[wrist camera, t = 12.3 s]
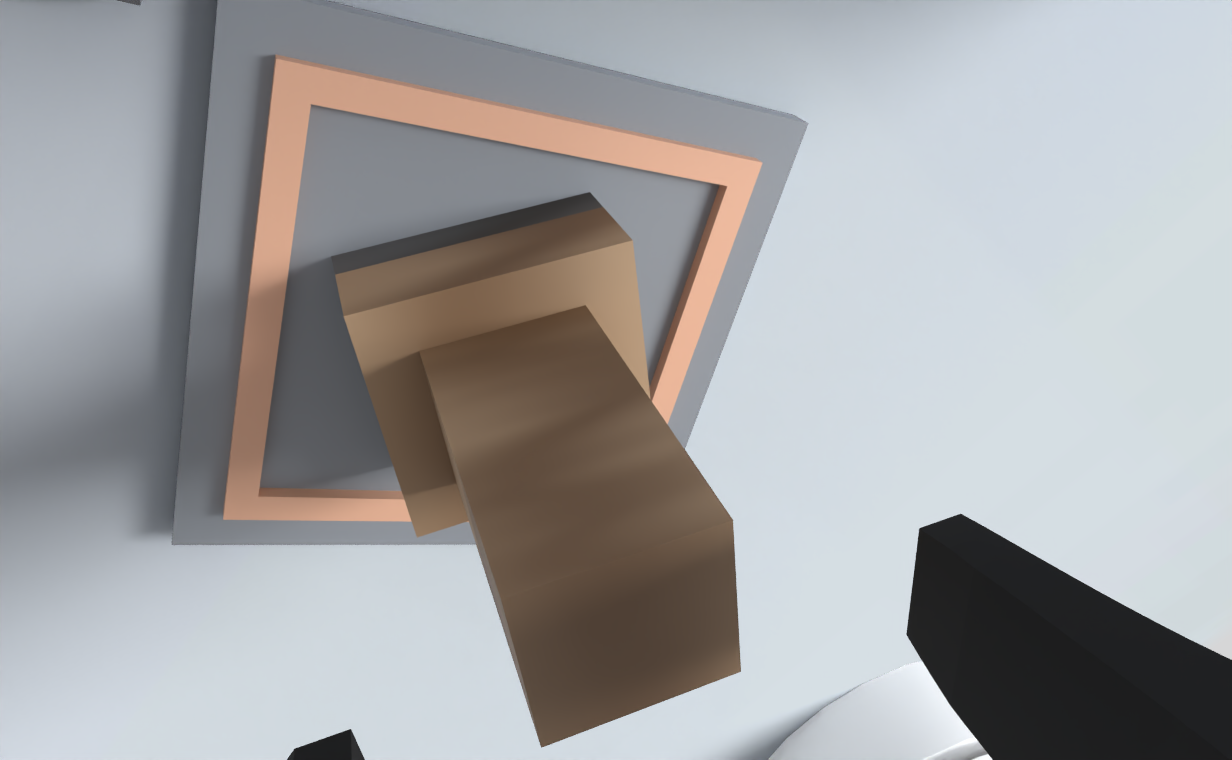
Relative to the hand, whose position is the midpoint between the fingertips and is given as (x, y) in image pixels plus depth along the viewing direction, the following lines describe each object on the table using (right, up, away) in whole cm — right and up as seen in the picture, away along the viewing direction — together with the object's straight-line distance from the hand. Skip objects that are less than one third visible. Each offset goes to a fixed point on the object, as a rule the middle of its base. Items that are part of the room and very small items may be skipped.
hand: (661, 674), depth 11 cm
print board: (-3, +5, +8) cm, 10 cm away
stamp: (-3, +4, +8) cm, 9 cm away
